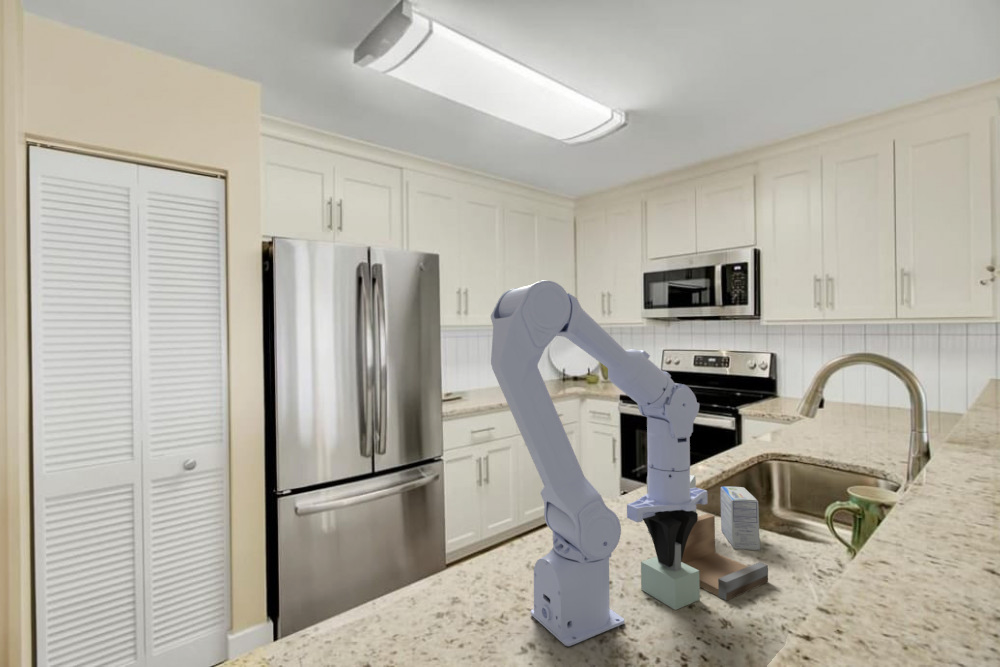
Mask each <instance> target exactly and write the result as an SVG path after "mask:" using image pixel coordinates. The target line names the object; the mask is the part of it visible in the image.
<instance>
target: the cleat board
mask: <svg viewBox="0 0 1000 667" xmlns="http://www.w3.org/2000/svg"><path fill="white" fill-rule="evenodd" d="M715 522H716V518H715V515H713V514H710V513H706V514H703V515H699V516H698V520H697V522H696V523H695V525H694V526H693V528H692V530H691V532H690V534H689V536H688V539H687V542H686V546H685V549H684V553H683V557H682V561H681V562H683V563H685V564H687V565H689V566H691V567H693V568H695V569H697V570H699V586H700V588H701V589H704V590H706V591H707V592H709V593H711V594H712V595H715V596H716V597H719V598H721V599H723V600H724V601H729V600H731V599H733V598H736V597H737V596H740V595H742V594H744V593H746V592H748V591H751V590H753V589H755V588H757V587H760V586H762V585H764V584H766V583H769V565H768V564H766V563H764V562H762V561H759V562H756V563H754V564H751V565H749V566H748V565H745V564H743V563H741V562H738V561H736V560H734V559H731V558H729V557H727V556H725V555H723V554H720V553H717V552H716V530H715V529H716V526H715V525H716V523H715Z"/></svg>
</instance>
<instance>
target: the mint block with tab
mask: <svg viewBox="0 0 1000 667" xmlns="http://www.w3.org/2000/svg"><path fill="white" fill-rule="evenodd" d="M640 587H641V588H640V589H641V591H643V592H645V593H646V594H648V595H649V596H652V597H653V598H654V599H656V600H658V601H660V602H662V603H663V604H665V605H667V606H668V607H669V608H671V609H673V610H675V611H676V610H679V609H681V608H684V607H685V606H688V605H690V604H693V603H696V602H698V601H700V600H701V599H700V598H701V597H700V596H701V595H700V588H701V587H700V586H699V570H697V569H695V568H693V567H691V566H689V565H687V564H685V563H683V562H681V544H679V543H677V542H675V554H674V562H673V566H671V567H668V566H666V565H664V564H662V563H660V562H658V558H657V556H654V557H651V558H648V559H645V560H642V561H640Z"/></svg>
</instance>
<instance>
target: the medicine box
mask: <svg viewBox="0 0 1000 667" xmlns="http://www.w3.org/2000/svg"><path fill="white" fill-rule="evenodd" d="M719 494H720V528H721V533H722V534H723V536H725V539H727V541H728V542H729V544H730V545H731V547H732V548H733V549H735V550H747V551H748V550H750V551H760V549H761V545H760V544H761V543H760V542H761V541H760V540H761V539H760V517H759V516H760V513H759V512H760V511H759V509H760V508H759V501H758V500H757V498H756V497H755V496H754V495H753V494H752V493H751V492H749V491H748V490H747V489H746V488H745V487H743V486H742V487H741V486H721V487H720V493H719Z"/></svg>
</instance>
